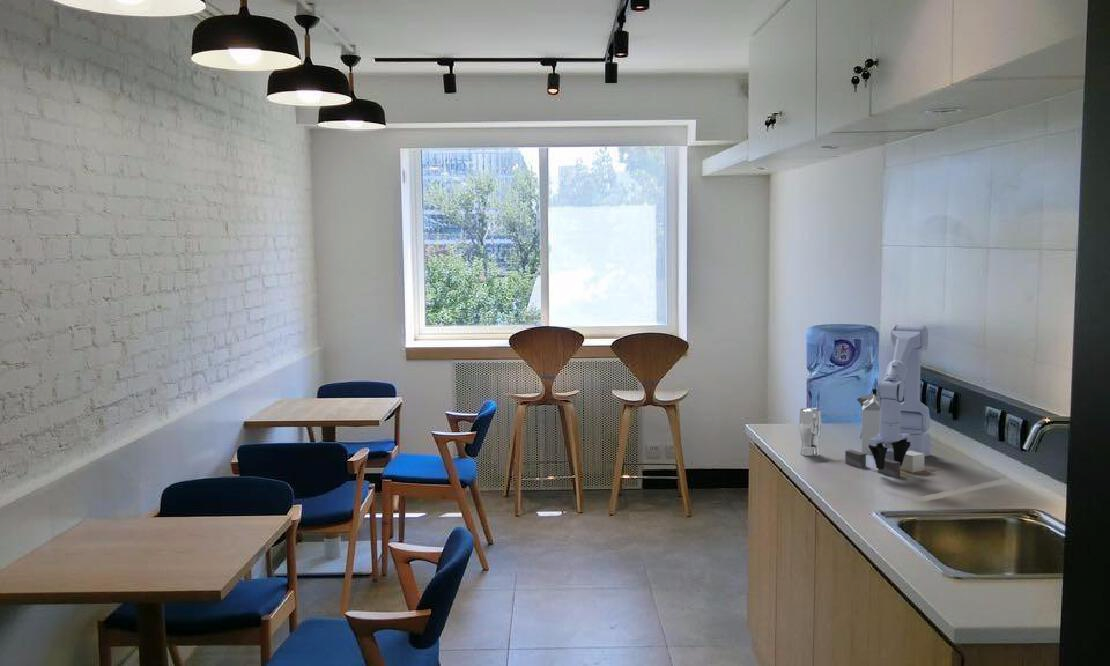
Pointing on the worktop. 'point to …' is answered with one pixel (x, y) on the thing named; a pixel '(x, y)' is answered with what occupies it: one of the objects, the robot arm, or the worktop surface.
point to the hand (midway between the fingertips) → (889, 467)
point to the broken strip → (855, 458)
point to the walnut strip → (894, 470)
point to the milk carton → (870, 423)
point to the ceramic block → (913, 461)
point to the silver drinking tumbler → (810, 431)
